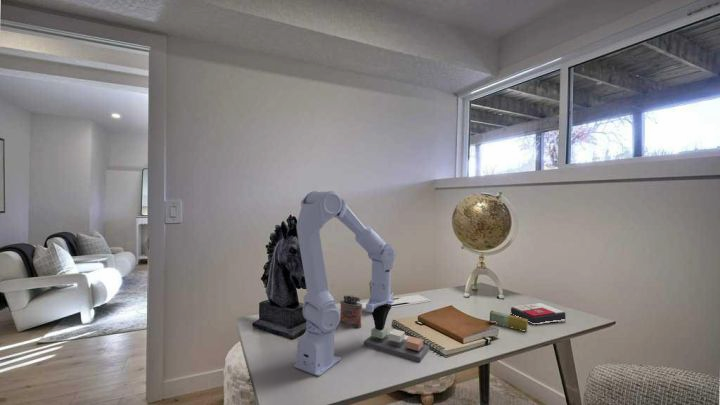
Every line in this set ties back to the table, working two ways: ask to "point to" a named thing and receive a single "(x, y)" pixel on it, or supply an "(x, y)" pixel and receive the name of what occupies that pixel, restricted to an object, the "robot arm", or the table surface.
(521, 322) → the medication box
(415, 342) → the key terracotta
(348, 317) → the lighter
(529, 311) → the white and crimson box
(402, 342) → the dark grey base plate
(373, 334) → the key sage
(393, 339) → the key ivory
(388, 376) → the table surface
